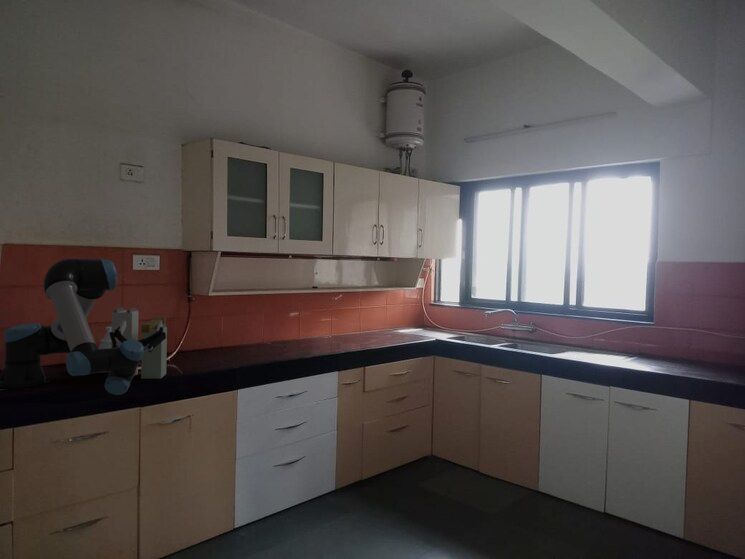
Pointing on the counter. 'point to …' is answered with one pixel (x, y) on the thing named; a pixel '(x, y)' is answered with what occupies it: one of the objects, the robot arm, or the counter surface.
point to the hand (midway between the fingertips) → (143, 322)
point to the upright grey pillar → (154, 358)
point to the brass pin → (152, 324)
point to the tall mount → (131, 322)
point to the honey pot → (106, 339)
